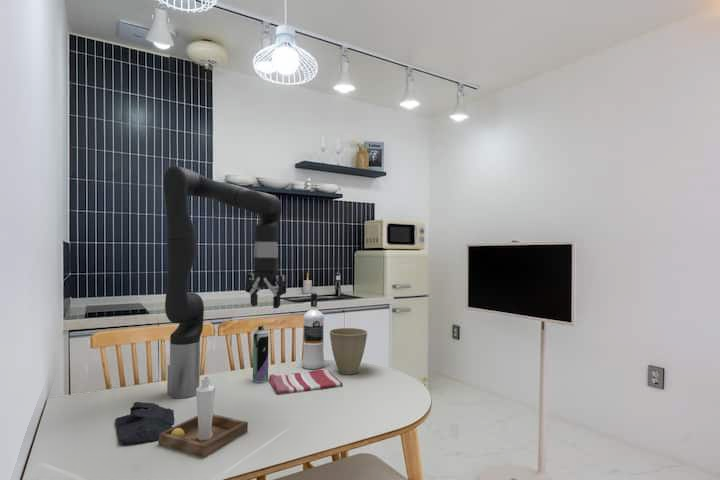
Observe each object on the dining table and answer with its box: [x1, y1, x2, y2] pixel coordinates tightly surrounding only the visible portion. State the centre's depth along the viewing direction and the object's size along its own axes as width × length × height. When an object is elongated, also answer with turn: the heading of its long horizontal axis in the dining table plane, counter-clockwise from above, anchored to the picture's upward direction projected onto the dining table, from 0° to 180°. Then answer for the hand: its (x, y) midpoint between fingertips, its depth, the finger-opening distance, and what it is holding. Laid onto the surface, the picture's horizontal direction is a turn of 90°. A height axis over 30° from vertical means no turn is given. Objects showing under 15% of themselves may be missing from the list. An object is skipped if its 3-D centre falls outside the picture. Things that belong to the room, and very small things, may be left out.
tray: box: [158, 413, 249, 459], centre depth 107 cm, size 15×15×3 cm
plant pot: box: [329, 327, 368, 375], centre depth 166 cm, size 15×15×16 cm
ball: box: [171, 428, 184, 438], centre depth 105 cm, size 3×3×3 cm
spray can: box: [252, 325, 269, 384], centre depth 154 cm, size 6×6×20 cm
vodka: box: [301, 292, 326, 370], centre depth 172 cm, size 9×9×30 cm
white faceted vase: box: [195, 376, 216, 440], centre depth 107 cm, size 5×4×15 cm
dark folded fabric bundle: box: [115, 401, 175, 446], centre depth 113 cm, size 15×22×5 cm
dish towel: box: [268, 369, 343, 395], centre depth 152 cm, size 17×23×3 cm
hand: (265, 306), depth 134 cm, fingers open, 8 cm apart
